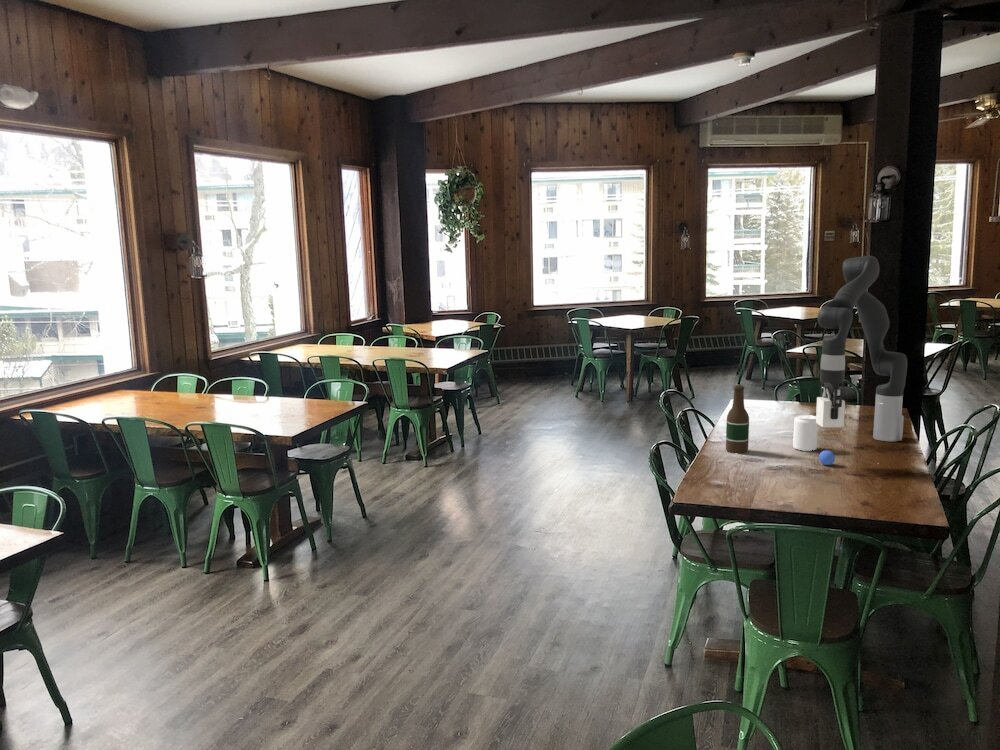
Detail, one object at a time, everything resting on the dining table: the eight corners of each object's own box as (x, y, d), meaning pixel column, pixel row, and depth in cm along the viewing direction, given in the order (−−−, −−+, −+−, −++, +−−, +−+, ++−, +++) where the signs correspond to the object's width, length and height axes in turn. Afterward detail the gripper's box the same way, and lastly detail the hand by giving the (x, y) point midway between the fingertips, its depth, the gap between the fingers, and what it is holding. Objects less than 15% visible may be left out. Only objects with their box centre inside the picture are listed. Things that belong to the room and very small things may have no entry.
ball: (813, 457, 275) (824, 465, 276) (818, 461, 271) (830, 470, 271) (823, 445, 275) (834, 454, 275) (828, 449, 270) (840, 458, 270)
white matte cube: (836, 422, 274) (837, 397, 273) (843, 427, 267) (844, 401, 266) (815, 422, 275) (817, 397, 273) (822, 427, 268) (823, 401, 266)
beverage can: (818, 452, 289) (820, 419, 287) (794, 451, 291) (796, 418, 289) (814, 446, 297) (816, 414, 295) (791, 445, 299) (792, 414, 297)
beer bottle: (748, 449, 295) (750, 384, 291) (747, 454, 288) (750, 388, 284) (726, 447, 297) (728, 383, 293) (724, 453, 290) (727, 387, 286)
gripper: (852, 371, 261) (849, 421, 263) (836, 364, 275) (833, 412, 277) (828, 371, 261) (825, 421, 264) (814, 364, 275) (811, 412, 278)
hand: (830, 416), depth 271 cm, fingers closed on white matte cube, 7 cm apart
